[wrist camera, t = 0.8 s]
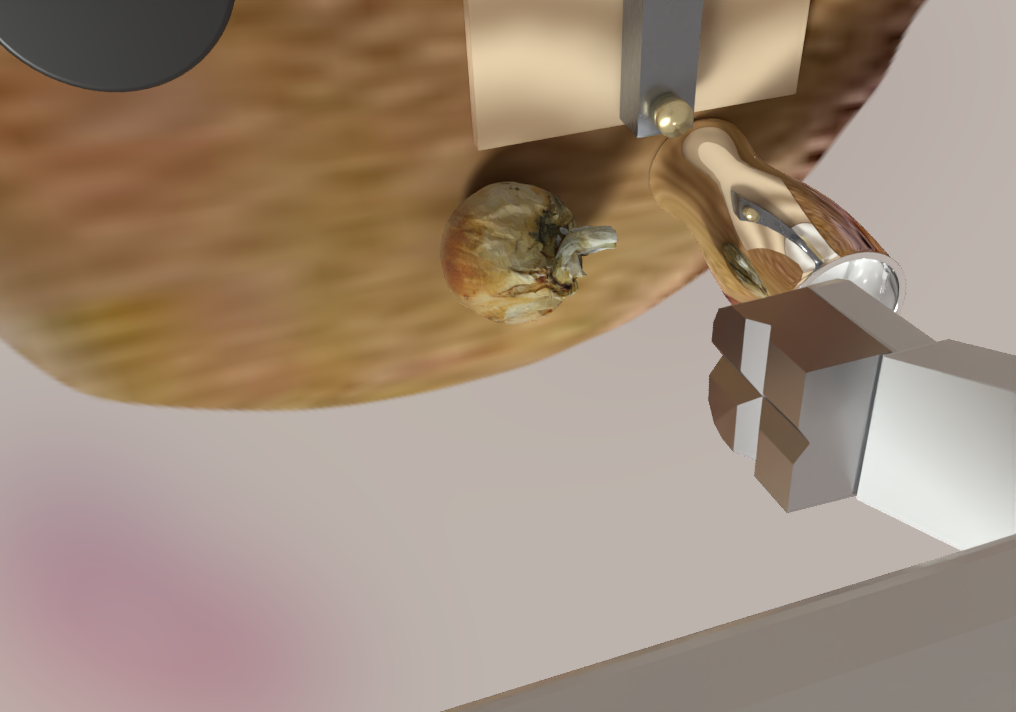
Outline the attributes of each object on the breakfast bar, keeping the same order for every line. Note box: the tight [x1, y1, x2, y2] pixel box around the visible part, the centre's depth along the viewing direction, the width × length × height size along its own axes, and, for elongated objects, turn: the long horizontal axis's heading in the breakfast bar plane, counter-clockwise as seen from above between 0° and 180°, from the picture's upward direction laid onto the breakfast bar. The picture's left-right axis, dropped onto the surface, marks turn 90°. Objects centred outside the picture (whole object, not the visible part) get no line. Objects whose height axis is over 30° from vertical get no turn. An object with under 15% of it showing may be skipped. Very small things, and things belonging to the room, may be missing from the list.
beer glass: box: [649, 118, 906, 315], centre depth 49 cm, size 7×7×15 cm
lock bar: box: [619, 0, 703, 138], centre depth 45 cm, size 13×3×4 cm, turn 3°
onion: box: [440, 182, 617, 324], centre depth 50 cm, size 8×8×8 cm
